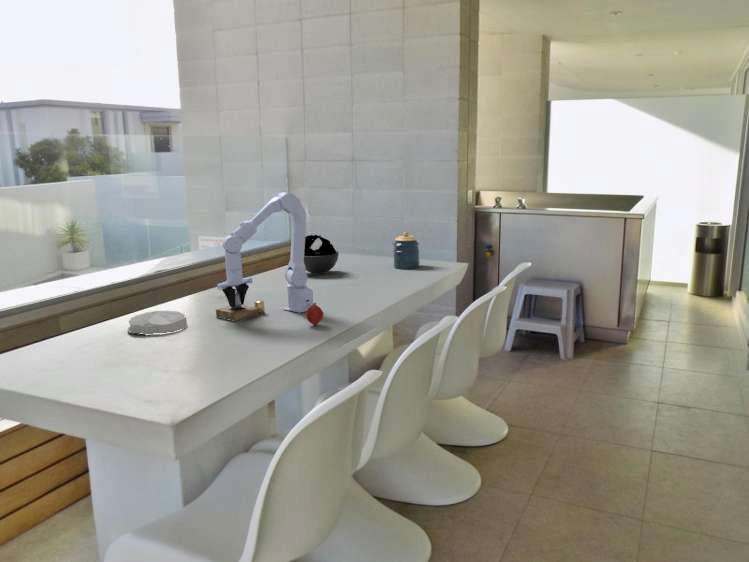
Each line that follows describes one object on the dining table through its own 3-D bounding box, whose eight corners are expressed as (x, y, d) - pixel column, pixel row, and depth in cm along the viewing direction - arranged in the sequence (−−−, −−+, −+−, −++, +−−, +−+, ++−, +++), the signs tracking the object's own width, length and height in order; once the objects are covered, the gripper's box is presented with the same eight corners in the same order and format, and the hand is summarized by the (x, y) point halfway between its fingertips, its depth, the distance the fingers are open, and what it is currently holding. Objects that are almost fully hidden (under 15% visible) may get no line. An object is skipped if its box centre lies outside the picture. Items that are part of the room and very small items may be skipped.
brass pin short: (266, 312, 246) (265, 301, 245) (259, 314, 243) (258, 303, 242) (260, 311, 248) (259, 299, 247) (253, 313, 245) (252, 301, 245)
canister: (390, 266, 333) (389, 231, 329) (414, 263, 336) (413, 229, 333) (398, 270, 321) (397, 234, 317) (423, 268, 324) (422, 232, 321)
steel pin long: (244, 314, 242) (242, 292, 240) (235, 316, 239) (233, 294, 237) (238, 312, 244) (236, 291, 242) (230, 314, 242) (228, 293, 240)
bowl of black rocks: (301, 270, 330) (299, 233, 326) (341, 269, 329) (339, 231, 325) (295, 278, 310) (292, 238, 306) (337, 277, 309) (335, 237, 305)
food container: (184, 319, 242) (182, 301, 241) (190, 332, 224) (188, 312, 223) (126, 327, 235) (124, 308, 234) (128, 340, 217) (126, 320, 215)
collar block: (258, 315, 242) (258, 307, 241) (237, 322, 234) (236, 313, 233) (238, 311, 249) (237, 303, 248) (216, 317, 242) (215, 309, 241)
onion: (308, 328, 222) (306, 305, 221) (305, 324, 228) (304, 301, 226) (325, 326, 224) (324, 303, 222) (321, 322, 229) (320, 300, 228)
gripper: (242, 264, 246) (245, 300, 249) (210, 271, 235) (213, 308, 238) (255, 266, 241) (257, 302, 244) (222, 273, 231) (226, 310, 233)
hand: (236, 305), depth 241 cm, fingers closed on steel pin long, 3 cm apart
